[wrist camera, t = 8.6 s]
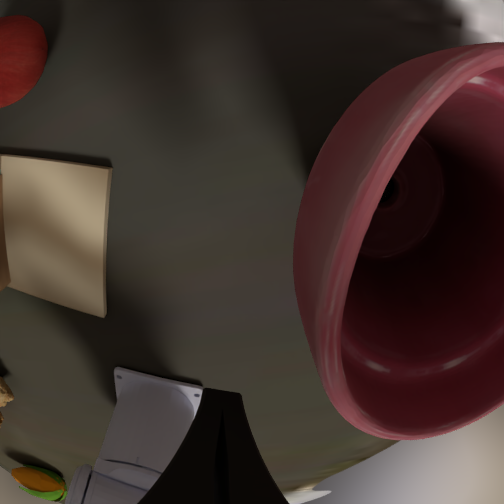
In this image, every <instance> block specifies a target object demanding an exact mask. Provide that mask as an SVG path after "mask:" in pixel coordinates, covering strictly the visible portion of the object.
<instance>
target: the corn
mask: <svg viewBox="0 0 504 504" xmlns="http://www.w3.org/2000/svg"><path fill="white" fill-rule="evenodd" d="M23 466H26V467H20V468H15V469H12V476H13V477H14V479H15V480H16V481H18V482H19V483H21V484H22V485H23V486H25V487H27V488H28V489H25V488H22V487H20V486H19V488H21V489H23V490H24V491H26V492H28V493H29V494H31V495H34V496H37V497H40V498H43V499H47V500H51V501H55V502H57V501H60V500H63V499H64V498H65V497H66V495H67V494H68V493H67V486H66V483H65V480H64V479H63V478H62V477H59V476H58V475H57V474H56V473H54V472H53V471H51V470H47V469H44V468H40V467H36V466H32V465H25V464H24V465H23ZM29 489H30V490H29Z"/></svg>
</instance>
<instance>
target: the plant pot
mask: <svg viewBox="0 0 504 504" xmlns="http://www.w3.org/2000/svg"><path fill="white" fill-rule="evenodd" d="M390 178H391V179H392V180H393V183H394V191H393V194H392V196H391V197H390V198H389V199H388V200H387V201H385V202H382V203H379V201H380V199H381V197H382V194H383V192H384V190H385V188H386V185H387V184H388V182H389V180H390ZM293 274H294V284H295V292H296V297H297V302H298V307H299V311H300V315H301V319H302V322H303V326H304V330H305V334H306V337H307V340H308V343H309V346H310V350H311V353H312V356H313V359H314V362H315V365H316V368H317V371H318V374H319V377H320V379H321V382H322V385H323V387H324V390H325V392H326V394H327V396H328V398H329V399H330V401H331V403H332V404H333V405H334V407H335V408H336V409H337V411H338V412H339V413H340V414H341V415H342V416H343V417H344V418H345V419H346V420H347V421H348V422H349V423H351V424H352V425H353V426H355V427H356V428H358V429H360V430H361V431H363V432H366V433H368V434H371V435H374V436H377V437H381V438H386V439H392V440H417V439H425V438H429V437H434V436H438V435H442V434H446V433H449V432H452V431H454V430H457V429H460V428H462V427H464V426H466V425H469V424H471V423H473V422H475V421H477V420H479V419H481V418H482V417H484V416H486V415H487V414H489V413H491V412H492V411H494V410H495V409H497V408H498V407H500V406H501V405H502V404H504V42H494V43H483V44H474V45H466V46H460V47H455V48H450V49H445V50H440V51H436V52H433V53H430V54H426V55H423V56H420V57H417V58H414V59H411V60H409V61H406V62H404V63H402V64H400V65H398V66H396V67H394V68H392V69H391V70H389V71H388V72H386V73H385V74H383V75H382V76H380V77H379V78H378V79H376V80H375V81H374V82H373V83H372V84H370V85H369V86H368V87H367V88H366V89H365V90H364V91H363V92H362V93H361V94H360V95H359V96H358V97H357V98H356V99H355V100H354V101H353V102H352V104H351V105H350V106H349V107H348V108H347V110H346V111H345V112H344V114H343V115H342V116H341V118H340V119H339V121H338V122H337V123H336V125H335V126H334V127H333V129H332V131H331V132H330V134H329V136H328V138H327V139H326V141H325V143H324V144H323V146H322V148H321V150H320V152H319V154H318V156H317V158H316V160H315V163H314V165H313V167H312V169H311V172H310V174H309V177H308V180H307V183H306V187H305V190H304V193H303V197H302V200H301V204H300V209H299V213H298V218H297V223H296V230H295V238H294V252H293Z"/></svg>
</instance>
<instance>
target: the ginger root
mask: <svg viewBox="0 0 504 504" xmlns="http://www.w3.org/2000/svg"><path fill="white" fill-rule="evenodd" d="M13 399H14V396H13V393H12V391H11V390H10V388H9V387H8V385H7V384H6V383H5V381H4V380H3V378H2V377H1V376H0V407H1V406H6V403H7V401H8V402H9V401H11V400H13ZM3 419H4V418H3V416H2V414H1V412H0V427H1V424H2V420H3Z"/></svg>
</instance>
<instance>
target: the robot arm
mask: <svg viewBox="0 0 504 504" xmlns="http://www.w3.org/2000/svg"><path fill="white" fill-rule="evenodd" d="M114 378H115V387H116V396H117V403H116V406H115V409H114V412H113V414H112V417H111V420H110V423H109V426H108V429H107V432H106V435H105V438H104V441H103V444H102V447H101V450H100V454H99V457H98V458H97V459H96V463H95V466H94V469H93V470H91V468H92V466H90V465H88V464H84V465H83V466H80V467H77V469H76V471H75V473H74V476H73V478H72V481H71V484H70V487H69V491H68V494H67V497H66V501H65V504H289V503H288V501H287V500H286V499H285V497H284V496H283V494H282V493H281V491H280V490H279V488H278V486H277V485H276V483H275V481H274V480H273V478H272V476H271V475H270V473H269V471H268V469H267V467H266V465H265V463H264V461H263V459H262V457H261V455H260V452H259V450H258V448H257V445H256V443H255V440H254V438H253V435H252V432H251V429H250V427H249V423H248V420H247V417H246V413H245V410H244V405H243V401H242V395H241V394H240V393H236V392H229V391H223V390H217V389H211V388H204V389H203V387H201V386H199V385H194V384H189V383H184V382H179V381H174V380H169V379H165V378H161V377H156V376H152V375H148V374H144V373H140V372H136V371H132V370H129V369H125V368H121V367H116V368H115V369H114Z"/></svg>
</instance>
